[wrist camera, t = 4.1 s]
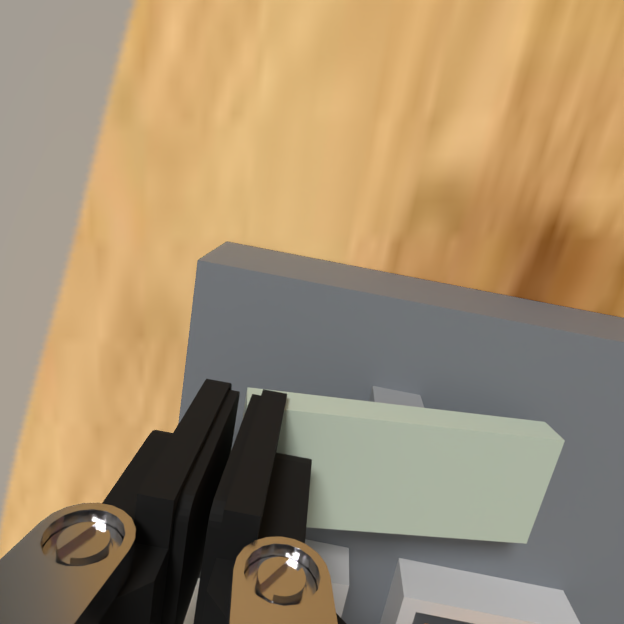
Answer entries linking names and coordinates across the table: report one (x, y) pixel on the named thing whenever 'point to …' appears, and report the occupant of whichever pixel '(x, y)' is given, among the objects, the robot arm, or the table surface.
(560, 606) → the switch panel
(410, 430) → the block
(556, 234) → the table surface
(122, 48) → the table surface
